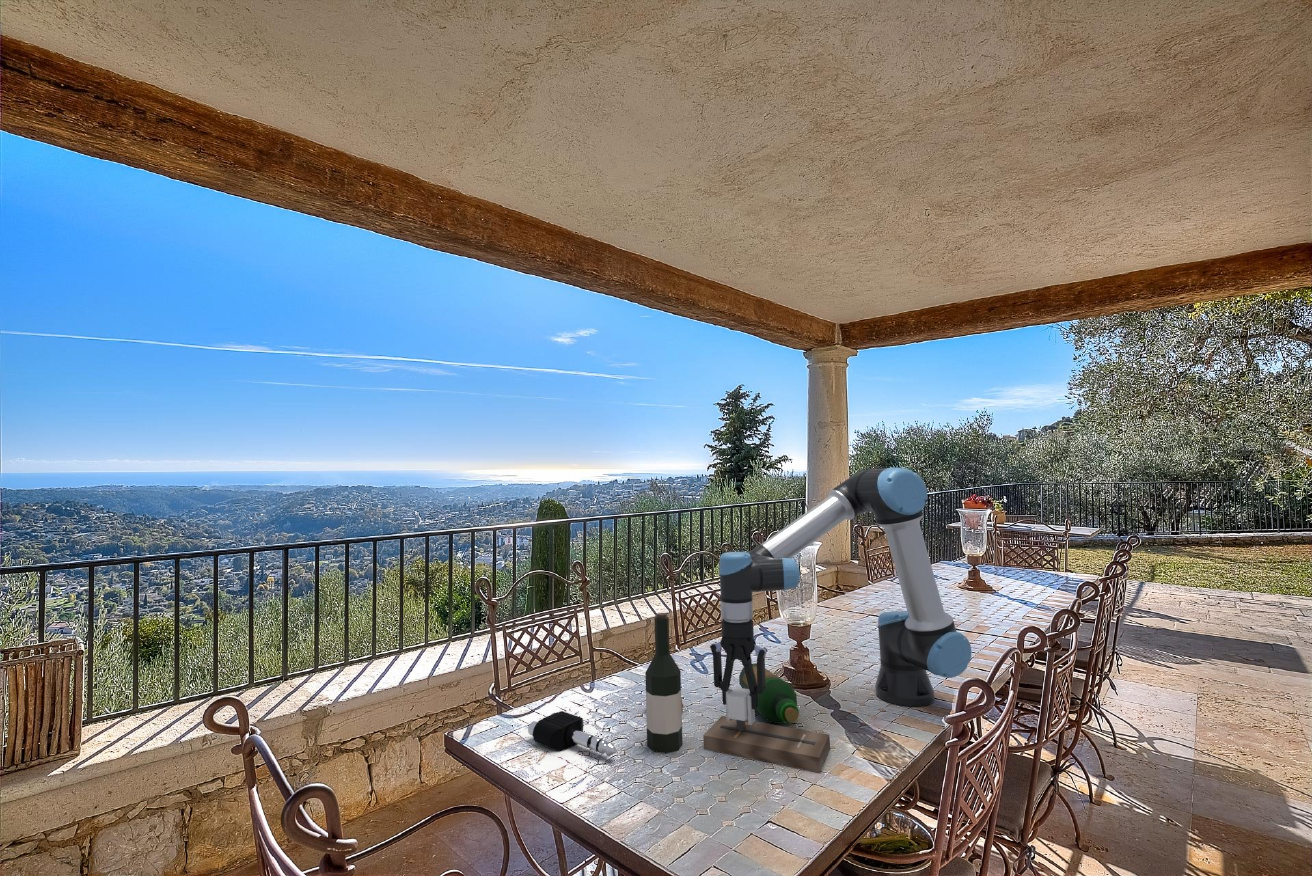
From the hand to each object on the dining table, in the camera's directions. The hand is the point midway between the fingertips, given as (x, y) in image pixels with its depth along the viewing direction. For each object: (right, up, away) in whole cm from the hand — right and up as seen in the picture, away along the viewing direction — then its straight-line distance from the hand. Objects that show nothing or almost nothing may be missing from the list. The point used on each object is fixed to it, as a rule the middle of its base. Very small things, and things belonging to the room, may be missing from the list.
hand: (740, 720), depth 132 cm
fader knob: (0, -2, 0) cm, 2 cm away
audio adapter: (-38, -7, 0) cm, 39 cm away
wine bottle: (-18, -6, 0) cm, 19 cm away
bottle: (+8, -3, +30) cm, 31 cm away
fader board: (+5, -5, -3) cm, 8 cm away
